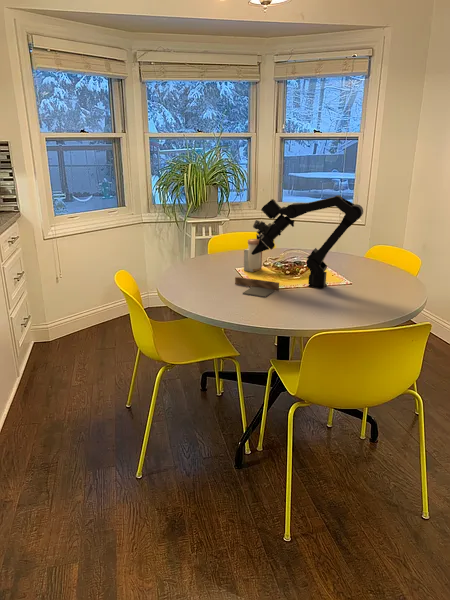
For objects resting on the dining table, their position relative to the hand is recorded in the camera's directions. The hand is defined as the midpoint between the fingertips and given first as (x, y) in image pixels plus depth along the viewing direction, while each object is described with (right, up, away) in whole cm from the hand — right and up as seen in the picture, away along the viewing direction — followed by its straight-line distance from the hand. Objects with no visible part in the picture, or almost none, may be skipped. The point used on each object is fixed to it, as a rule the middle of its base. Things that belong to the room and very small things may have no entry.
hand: (251, 252), depth 198 cm
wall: (+2, -15, -2) cm, 15 cm away
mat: (+2, -18, -10) cm, 20 cm away
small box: (+2, -6, +25) cm, 25 cm away
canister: (+1, -6, +2) cm, 7 cm away
